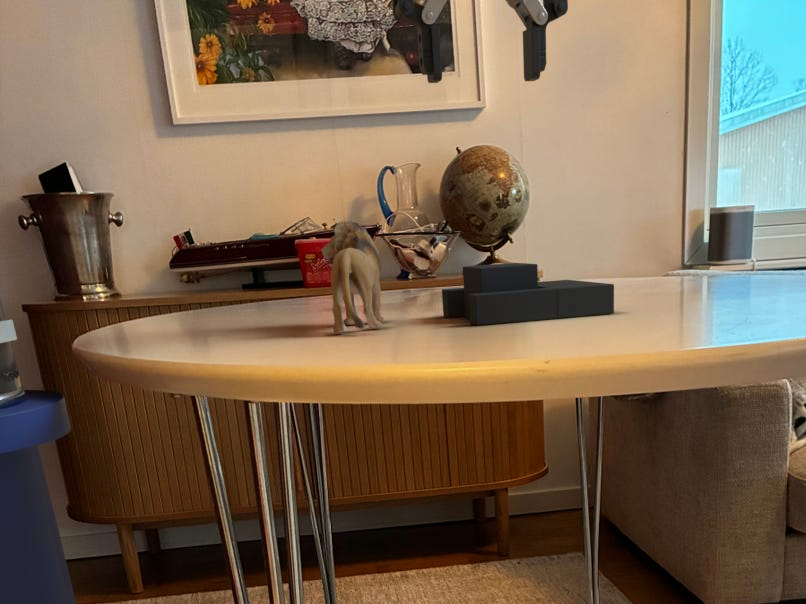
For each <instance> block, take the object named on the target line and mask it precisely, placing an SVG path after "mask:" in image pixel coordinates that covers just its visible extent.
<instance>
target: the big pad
mask: <svg viewBox="0 0 806 604" xmlns="http://www.w3.org/2000/svg"><path fill="white" fill-rule="evenodd" d="M441 301H442V314H443V317H444V318H448V319H454V318H466V316H465V298H464V287H454V288H442V289H441ZM469 305H470V318H469V322H470V324H471V325H473V326H487V325H488V326H489V325H498V324H500V325H501V324H511V323H523V322H532V321H544V320H545V321H547V320H556V319H568V318H579V317H590V316H600V315H602V316H603V315H613V314H614V313H615V284H613V283H606V282H605V283H604V282H594V281H584V280H574V279H558V280H546V281H538V289H527V290H514V291H502V292H489V293H476V294H469Z"/></svg>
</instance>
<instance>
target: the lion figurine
mask: <svg viewBox="0 0 806 604" xmlns="http://www.w3.org/2000/svg"><path fill="white" fill-rule="evenodd" d="M333 230H334V231H333V232H334V235H332V236H331V237H330V240H329V242H328V243H326V244H325V245H324V246H323V247H322V248H321V249H320V252H321V253H322V256H323V258H324V259H325V260H327V261H328V266H329V267H330V268H331V276H330V284H331V295H332V310H331V311H332V315H333V319H334V326H333V330H332V331H333V333H334V334H339V333H344V332H347V326H355V328H356V329H364V328H365V323H364V322H363V320H362V319H361V318H360V316H358V312H357V309H356V305H355V295H356V296H359V297H360V298H361V301H362V304H363V315H364V317H365V319H366V322H367V326H368V328H369V329H380V328H383V323H384V322H385V318H384V317H383V316H381V305H382V303H381V301H382V299H381V297H382V289H381V283H380V278H381V271H382V261H381V258H380V256H381V255H380V252H379V250H378V249H377V247H376V245H375V242H374V240H373V239H372V237H371V235H370V234H369V233H368V231H367V229H366V228H364V227H363V225H361V224H359V223H358V222H356V221H352V220H349V219H348V220H341V221H339V222H337V223H336V224H335V226H334V229H333ZM342 303H344V308H345V318H344V316H343V314H344V313H343V305H342Z"/></svg>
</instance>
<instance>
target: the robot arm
mask: <svg viewBox="0 0 806 604" xmlns="http://www.w3.org/2000/svg"><path fill="white" fill-rule="evenodd" d="M447 1H448V0H424V1H423V3H422V4H420V3H418V2H416V1H415V0H391V5H392V7H391V8H392V16H393V18H394V19H395V20H396V21H397V22H404V23H407V24H409V25H411V26H412V27H414V28H415V30H416V35H417V47H418V48H417V49H418V62H419V64H418V65H419V70H420V72H421V74H422V76H426V79H427V83H428V84H438V83H439V82H441V81H442V79H443V67H442V63H443V62H442V47H441V29H440V26H437V21H436V20H437V19H438V17H439V15H440V13H441V12H442V10H443V8H444V7H445V5H446V3H447ZM505 2H506V4H507V5H508V6H509V7H510V8H511V9H513V10H514V12H515V13H516V15H517V17H518V18H519V20H520V21H521V22H522V24H523V26H524V27H525V30H523V31H522V57H523V58H522V59H523V79H524V81H525V82H536V81H537V80H539V79H540V77H541V73H543V72H545V70H546V66H547V27H548V24H550V23H551V22H555V20H558V19H559V18H561V17H563V16H565V15H566V14H567V13H568V10H569V2H568V0H542V2H541V0H505ZM17 340H18V337H17V333H16V328H15V324H14V320H13V319H7V320H6V317H5V311H4V308H3V304H2V299H1V298H0V409H3V408H7V407H10V406H14V405H16V404H19V403H21V402H23V401H25V400H26V397H25V393H24V390H25V389H24V385H23V384H21V380H20V372H19V368H18V367H17V363H16V362H17V361H16V357H15V354H14V350H13V346H12V341H17Z"/></svg>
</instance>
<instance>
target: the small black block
mask: <svg viewBox="0 0 806 604" xmlns="http://www.w3.org/2000/svg"><path fill="white" fill-rule="evenodd" d="M538 269H539V268H538V264H537V263H525V262H508V263H494V264H481V265H479V264H478V265H467V266H462V274H463V275H462V277H463V280H462V281H463V288H464V298H465V316H466V317H465V318H466V319H470V305H469V294H476V293H489V292H502V291H514V290H527V289H538V282H539V273H538V272H539V271H538Z"/></svg>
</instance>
